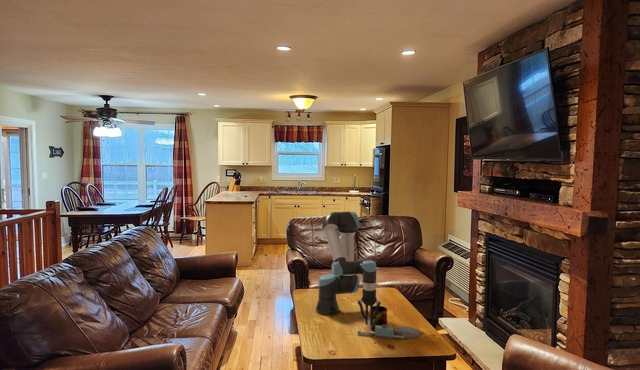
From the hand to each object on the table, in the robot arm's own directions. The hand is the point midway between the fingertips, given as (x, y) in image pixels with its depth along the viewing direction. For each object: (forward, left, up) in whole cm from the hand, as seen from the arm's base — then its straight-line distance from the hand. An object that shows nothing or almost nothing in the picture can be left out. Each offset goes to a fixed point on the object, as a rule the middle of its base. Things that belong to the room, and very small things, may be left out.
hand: (369, 330), depth 211 cm
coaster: (-8, +21, -3) cm, 22 cm away
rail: (0, +7, -3) cm, 7 cm away
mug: (-11, +4, -3) cm, 12 cm away
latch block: (0, +9, -1) cm, 9 cm away
